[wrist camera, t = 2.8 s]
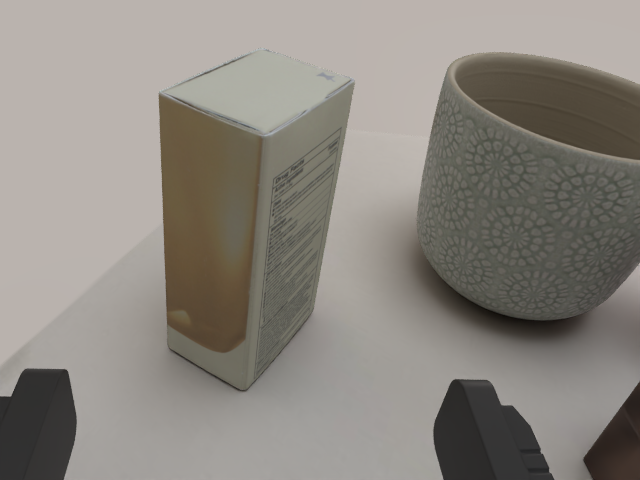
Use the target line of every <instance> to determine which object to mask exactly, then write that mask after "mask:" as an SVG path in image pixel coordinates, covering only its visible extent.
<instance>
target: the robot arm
mask: <svg viewBox="0 0 640 480" xmlns="http://www.w3.org/2000/svg"><path fill="white" fill-rule="evenodd" d="M76 424H77V419H76V411H75V406H74V400H73V395H72V389H71V384H70V379H69V374H68V371H67V370H66V369H28V368H27V369H25V370H24V371H23V372H22V373H21V375H20V377H19V379H18V382H17V384H16V387H15V389H14V391H13V394H12V396H11V397H1V396H0V480H64V476H65V473H66V470H67V466H68V463H69V459H70V456H71V452H72V449H73V445H74V441H75V435H76ZM434 445H435V450H436V454H437V457H438V461H439V465H440V468H441V472H442V475H443V479H444V480H554V478H553V476H552V474H551V473H549V467H548V465H547V462H546V460H545V458H544V456H543V454H541V452H540V450H541V449H540V447H539V444H538V442H537V440H536V438H535V435H534V433H533V431H532V429H531V427H530V425H529V424H528V423H527V422H526V421H525V419H524V418H523V417H522V416H521V415H520V414H519V413H518V411H517V410H516V409H515V408H514V407H513V406H504V405H501V404H500V401H499V399H498V396H497V394H496V391H495V389H494V387H493V385H492V384H491V383H490V382H489V381H488V380H463V379H455V380H453V381H452V382H451V384H450V386H449V388H448V391H447V393H446V396H445V398H444V400H443V403H442V405H441V408H440V410H439V412H438V415H437V417H436V420H435V423H434Z"/></svg>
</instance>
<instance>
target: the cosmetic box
mask: <svg viewBox="0 0 640 480" xmlns="http://www.w3.org/2000/svg"><path fill="white" fill-rule="evenodd" d="M354 85H355V80H354V79H353V78H350V77H347V76H344V75H340V74H337V73H334V72H332V71H328V70H326V69H323V68H319V67H317V66H314V65H311V64H308V63H305V62H302V61H300V60H296V59H293V58H291V57H288V56H285V55H282V54H279V53H275V52H272V51H269V50H267V49H264V48H260V49H257V50H255V51H253V52H250V53H247V54H245V55H241V56H240V57H237V58H235V59H232V60H230V61H227V62H225V63H223V64H221V65H218V66H215V67H213V68H211V69H209V70H206V71H205V72H202V73H199V74H197V75H195V76H193V77H190V78H188V79H186V80H184V81H182V82H180V83H177V84H175V85H173V86H171V87H168V88H166V89H164V90H162V91H160V92H159V112H160V143H161V167H162V168H161V169H162V193H163V194H162V195H163V224H164V253H165V279H166V306H167V337H168V347H169V348H170V349H172V350H173V351H175V352H177V353H178V354H180V355H182V356H183V357H185V358H186V359H188V360H190V361H191V362H193V363H195V364H196V365H198V366H199V367H201V368H203V369H205V370H206V371H208V372H210V373H211V374H213V375H215V376H217V377H218V378H220V379H222V380H224V381H226V382H227V383H229V384H231V385H233V386H234V387H236V388H238V389H240V390H246V389H247V388H249V387H250V385H251V384H252V383H253V382H254V381H255V380H256V379H257V378H258V377H259V376H260V374H261V373H262V372H263V371H264V370H265V369H266V368H267V366H268V365H269V364H270V363H271V362H272V361H273V359H274V358H275V357H276V356H277V355H278V354H279V352H280V351H281V350H282V349H283V348H284V346H285V345H286V344H287V343H288V342H289V340H290V339H291V338H292V337H293V335H294V334H295V333H296V332H297V330H298V329H299V328H300V327H301V325H302V324H303V323H304V322H305V320H306V319H307V318H308V316H309V315H310V314H311V313H312V311H313V309H314V304H315V298H316V292H317V287H318V282H319V276H320V270H321V265H322V259H323V253H324V248H325V243H326V237H327V232H328V226H329V221H330V215H331V210H332V204H333V199H334V193H335V188H336V183H337V177H338V172H339V167H340V161H341V155H342V150H343V145H344V139H345V134H346V128H347V122H348V117H349V112H350V105H351V100H352V94H353V89H354Z"/></svg>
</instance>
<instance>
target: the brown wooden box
mask: <svg viewBox="0 0 640 480" xmlns="http://www.w3.org/2000/svg"><path fill="white" fill-rule="evenodd" d="M584 461H585V463H586V465H587V467H588V469H589V471H590V473H591V475H592V477H593V479H594V480H640V382H639V383H638V385H637V386H636V387H635V389H634V390H633V391H632V393H631V394H630V396H629V397H628V398H627V400H626V401H625V402H624V404H623V405H622V406H621V408H620V409H619V411H618V412H617V413H616V415H615V416H614V417H613V419H612V420H611V421H610V423H609V424H608V426H607V427H606V428H605V430H604V431H603V432H602V434H601V435H600V436H599V438H598V439H597V441H596V442H595V443H594V445H593V446H592V447H591V449H590V450H589V451H588V453H587V454H586V455H585V457H584Z"/></svg>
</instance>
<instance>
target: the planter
mask: <svg viewBox="0 0 640 480" xmlns="http://www.w3.org/2000/svg"><path fill="white" fill-rule="evenodd" d="M417 231H418V236H419V241H420V244H421V247H422V249H423V252H424V254H425V256H426V258H427V259H428V261H429V262H430V264H431V266H432V267H433V268H434V270H435V271H436V272H437V273H438V274H439V276H440V277H441V278H442V279H443V280H444V281H445V282H446V283H447V284H448V285H449V286H451V287H452V288H453V289H454V290H455V291H457V292H458V293H459V294H461V295H462V296H464V297H465V298H467V299H468V300H470V301H472V302H473V303H475V304H477V305H479V306H481V307H483V308H486V309H488V310H491V311H493V312H496V313H499V314H502V315H506V316H510V317H515V318H520V319H528V320H557V319H564V318H569V317H573V316H577V315H580V314H582V313H585V312H587V311H589V310H591V309H593V308H595V307H597V306H598V305H600V304H601V303H603V302H604V301H605V300H607V299H608V298H609V297H610V296H611V295H612V294H613V293H614V292H615V291H616V290H617V289H618V288H619V287H620V285H621V284H622V283H623V282H624V281H625V280H626V279H627V278H628V277H629V275H630V274H631V273H632V272H633V271H634V269H635V268H636V267H637V266H638V264H639V263H640V84H637V83H635V82H632V81H629V80H627V79H624V78H621V77H619V76H616V75H613V74H610V73H607V72H604V71H601V70H597V69H594V68H591V67H587V66H583V65H579V64H575V63H572V62H567V61H562V60H558V59H553V58H548V57H542V56H535V55H528V54H519V53H504V52H492V53H491V52H490V53H478V54H472V55H468V56H464V57H462V58H459V59H457V60H455V61H454V62H453V63H452V64H451V65H450V66H449V67H448V69H447V72H446V75H445V78H444V81H443V85H442V88H441V92H440V96H439V100H438V104H437V109H436V112H435V117H434V121H433V126H432V131H431V135H430V140H429V145H428V150H427V155H426V160H425V165H424V170H423V175H422V182H421V188H420V194H419V202H418V211H417Z"/></svg>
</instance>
